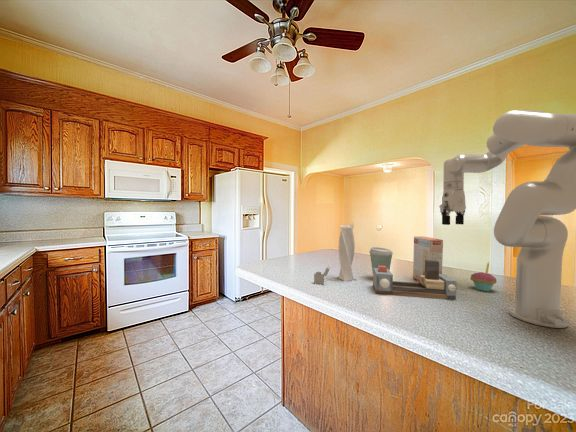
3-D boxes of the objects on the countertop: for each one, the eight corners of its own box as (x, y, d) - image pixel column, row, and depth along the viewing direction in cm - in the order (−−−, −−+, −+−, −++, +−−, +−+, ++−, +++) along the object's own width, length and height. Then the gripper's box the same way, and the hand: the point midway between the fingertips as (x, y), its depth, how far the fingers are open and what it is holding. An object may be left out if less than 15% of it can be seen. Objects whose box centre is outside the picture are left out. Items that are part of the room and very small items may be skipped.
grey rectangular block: (456, 300, 88) (456, 281, 88) (447, 299, 89) (447, 281, 88) (444, 291, 98) (444, 274, 98) (436, 290, 99) (436, 273, 99)
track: (455, 299, 89) (455, 291, 88) (376, 293, 95) (376, 286, 94) (444, 291, 98) (444, 283, 98) (372, 286, 104) (373, 279, 104)
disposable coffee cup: (393, 278, 117) (394, 247, 117) (390, 283, 108) (391, 250, 107) (371, 275, 122) (371, 246, 122) (366, 280, 113) (367, 248, 113)
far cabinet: (392, 295, 93) (393, 275, 92) (376, 294, 94) (376, 274, 94) (387, 287, 103) (387, 268, 103) (372, 286, 104) (373, 267, 104)
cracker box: (442, 287, 103) (443, 239, 102) (428, 287, 103) (429, 239, 102) (424, 278, 117) (425, 236, 116) (412, 278, 117) (413, 236, 116)
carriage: (444, 289, 90) (444, 263, 90) (426, 288, 91) (427, 262, 91) (435, 283, 98) (436, 259, 98) (420, 282, 99) (420, 258, 99)
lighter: (313, 283, 108) (314, 265, 107) (315, 282, 109) (315, 265, 109) (329, 285, 105) (329, 267, 105) (330, 284, 106) (330, 266, 106)
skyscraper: (359, 281, 112) (359, 222, 111) (344, 283, 109) (345, 222, 108) (348, 276, 120) (349, 221, 119) (334, 278, 117) (335, 221, 116)
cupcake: (486, 286, 104) (487, 259, 104) (502, 293, 96) (502, 263, 96) (465, 286, 105) (466, 259, 105) (479, 292, 97) (479, 263, 96)
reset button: (386, 277, 97) (386, 267, 97) (379, 276, 98) (379, 266, 97) (385, 275, 100) (385, 265, 100) (378, 274, 100) (378, 265, 100)
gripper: (449, 184, 100) (449, 225, 101) (473, 186, 108) (473, 224, 108) (432, 186, 107) (432, 224, 107) (456, 188, 114) (455, 223, 115)
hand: (452, 224), depth 108 cm, fingers open, 9 cm apart
